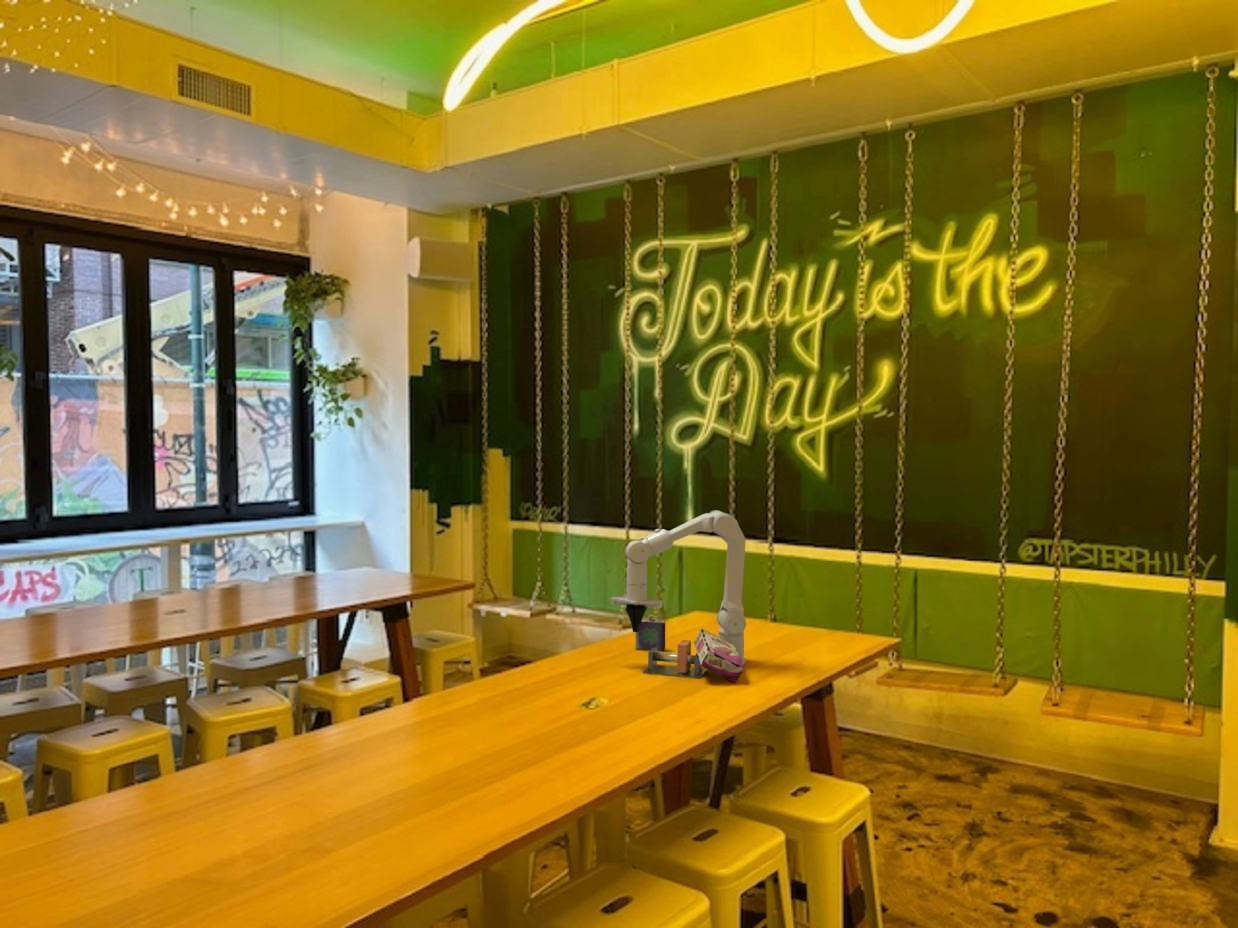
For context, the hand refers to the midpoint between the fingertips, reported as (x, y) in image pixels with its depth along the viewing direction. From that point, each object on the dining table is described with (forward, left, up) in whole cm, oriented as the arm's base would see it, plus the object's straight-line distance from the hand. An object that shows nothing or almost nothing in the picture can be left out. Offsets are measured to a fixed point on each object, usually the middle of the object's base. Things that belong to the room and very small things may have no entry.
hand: (636, 631), depth 263 cm
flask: (-20, -1, -10) cm, 22 cm away
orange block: (+2, +15, -10) cm, 18 cm away
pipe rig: (+2, +12, -10) cm, 16 cm away
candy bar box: (+9, +27, -6) cm, 29 cm away
